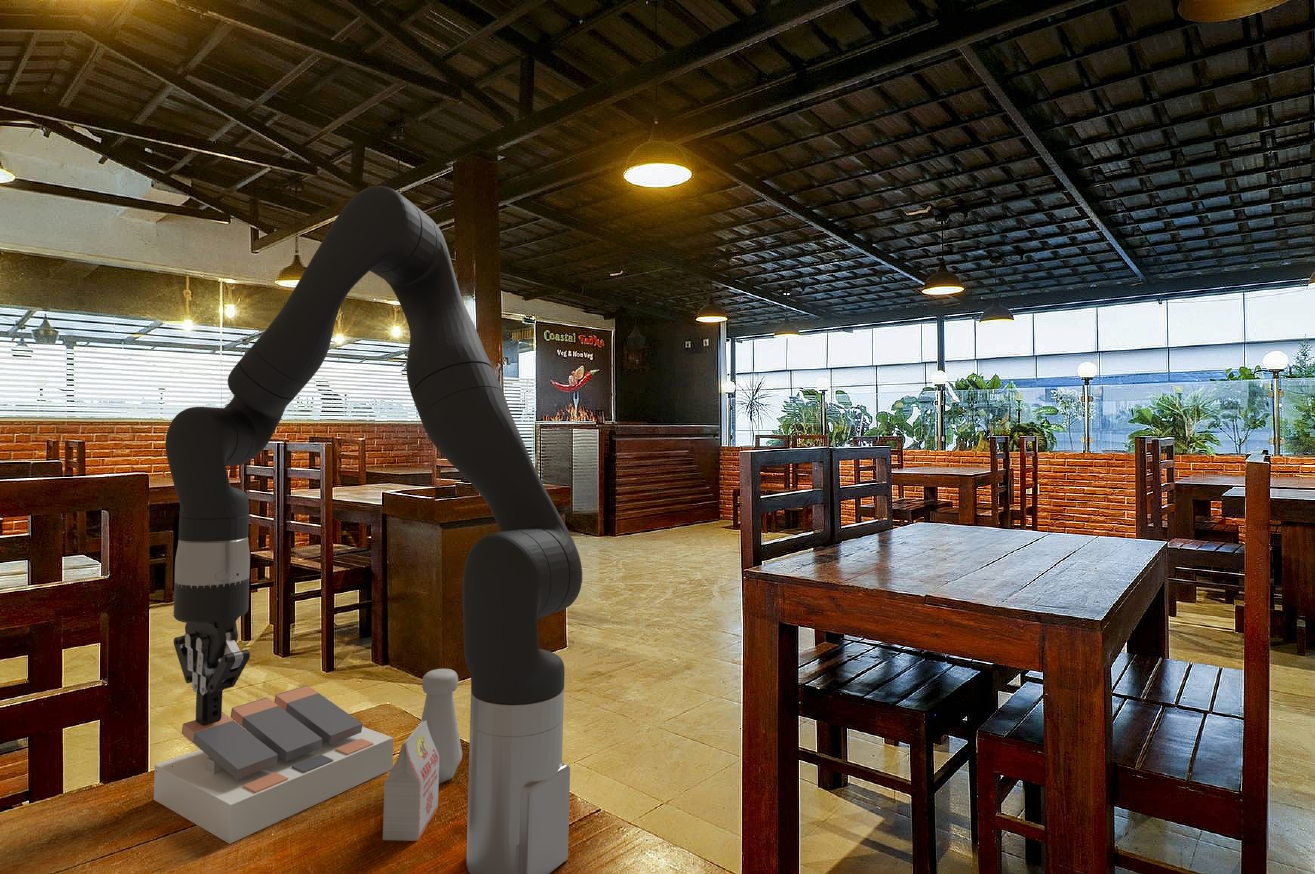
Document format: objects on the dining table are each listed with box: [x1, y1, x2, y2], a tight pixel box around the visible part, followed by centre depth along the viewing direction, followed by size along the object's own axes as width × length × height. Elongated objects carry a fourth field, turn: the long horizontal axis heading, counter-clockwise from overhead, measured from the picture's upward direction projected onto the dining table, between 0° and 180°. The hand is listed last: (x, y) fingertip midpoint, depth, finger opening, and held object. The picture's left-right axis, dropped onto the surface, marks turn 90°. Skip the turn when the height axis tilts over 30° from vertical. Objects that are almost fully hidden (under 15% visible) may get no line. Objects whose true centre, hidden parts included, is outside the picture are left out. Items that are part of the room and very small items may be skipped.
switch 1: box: [181, 711, 278, 780], centre depth 82 cm, size 12×4×1 cm, turn 59°
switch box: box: [153, 726, 394, 845], centre depth 86 cm, size 16×20×5 cm
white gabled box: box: [382, 720, 440, 842], centre depth 78 cm, size 4×7×10 cm, turn 0°
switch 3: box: [273, 684, 363, 745], centre depth 91 cm, size 12×4×1 cm, turn 59°
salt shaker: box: [420, 668, 463, 784], centre depth 89 cm, size 6×6×13 cm
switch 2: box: [230, 697, 323, 762], centre depth 86 cm, size 12×4×1 cm, turn 59°
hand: (208, 722), depth 84 cm, fingers closed
